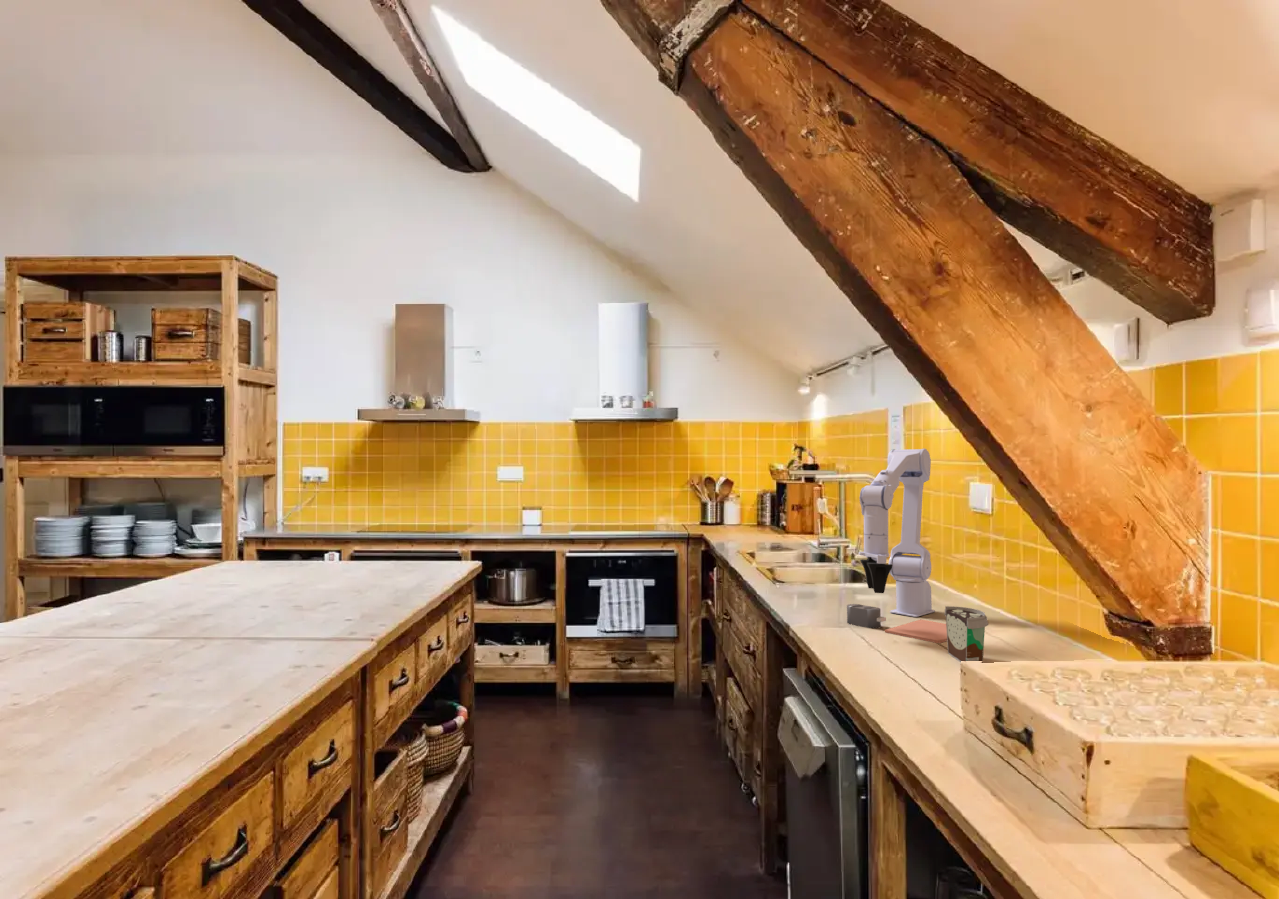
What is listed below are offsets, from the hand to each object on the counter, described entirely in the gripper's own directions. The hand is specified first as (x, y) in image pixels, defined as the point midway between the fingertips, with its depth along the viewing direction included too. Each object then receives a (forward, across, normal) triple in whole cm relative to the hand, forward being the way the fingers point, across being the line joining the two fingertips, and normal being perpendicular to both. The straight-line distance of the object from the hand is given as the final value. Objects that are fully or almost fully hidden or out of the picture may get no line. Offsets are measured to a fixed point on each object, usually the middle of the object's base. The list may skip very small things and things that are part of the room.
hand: (875, 590), depth 180 cm
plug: (+10, -7, -2) cm, 12 cm away
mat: (+10, 0, +13) cm, 16 cm away
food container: (+11, +23, +15) cm, 30 cm away
